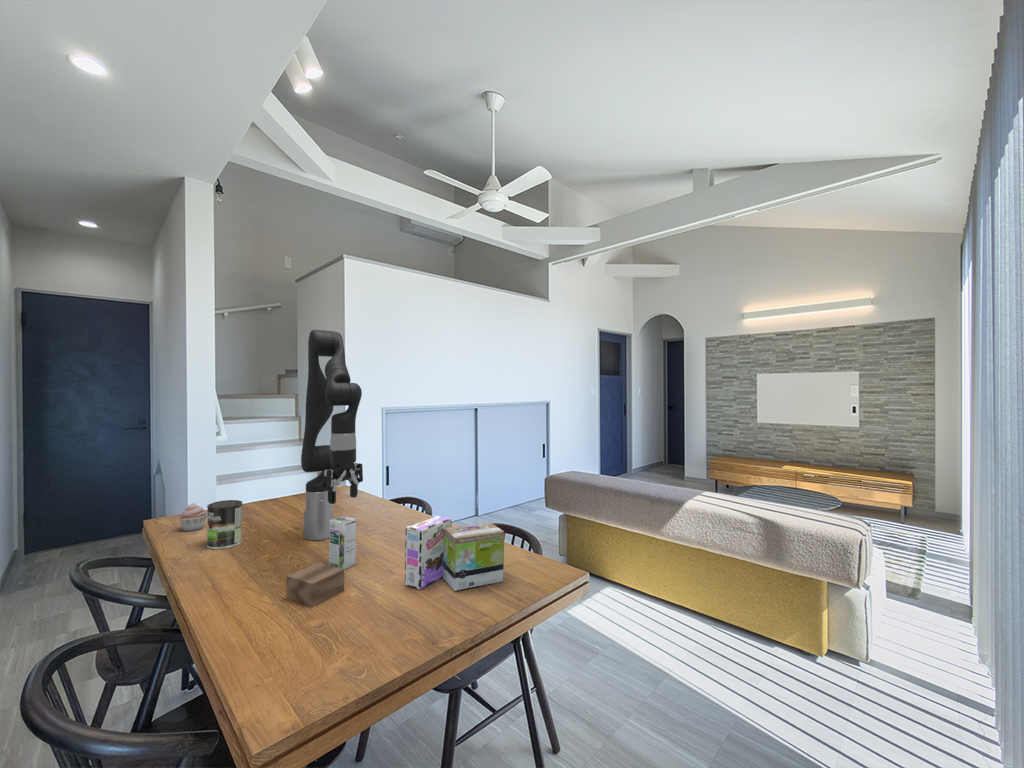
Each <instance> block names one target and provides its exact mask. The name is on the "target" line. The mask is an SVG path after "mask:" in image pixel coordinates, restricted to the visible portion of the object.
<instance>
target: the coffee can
mask: <svg viewBox="0 0 1024 768" xmlns="http://www.w3.org/2000/svg"><path fill="white" fill-rule="evenodd" d="M206 508H207V515H208V516H207V522H206V523H207V525H206V526H207V530H206V531H207V532H206V536H207V537H206V548H207V549H209V550H222V549H223V550H224V549H229V548H233V547H235V546H238V545H240V544H241V543H242V521H243V520H242V517H243V516H242V515H243V514H242V513H243V512H242V511H243V510H242V509H243V501H242V500H238V499H237V500H236V499H229V500H228V499H227V500H226V499H225V500H219V501H214V502H211V503H209V504H207V505H206Z"/></svg>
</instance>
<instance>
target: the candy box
mask: <svg viewBox="0 0 1024 768" xmlns="http://www.w3.org/2000/svg"><path fill="white" fill-rule="evenodd" d="M451 527H452V518H451V517H446V516H441V515H435V516H433V517H430V518H428V519H424V520H423V521H420V522H416V523H414V524H411V525H407V526H405V547H404V548H405V553H404V555H405V556H404V557H405V558H404V585H405V586H407V587H411V588H413V589H416V590H422V589H424V588H426V587H427V586H429V585H431V584H433V583H434V582H437V581H439V580H441V579H443V552H444V529H445V528H451Z"/></svg>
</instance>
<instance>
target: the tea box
mask: <svg viewBox="0 0 1024 768" xmlns="http://www.w3.org/2000/svg"><path fill="white" fill-rule="evenodd" d="M504 561H505V531H504V530H502V529H501V528H500V527H498V526H497V525H496V524H494V523H492V522H490V521H489V522H483V523H482V522H481V523H476V524H475V523H474V524H468V525H461V526H459V525H458V526H454V527H453V526H451V528H445V529H444V552H443V577H442V579H443V580H444V581H445V583H447V585H449V587H450V588H451V589H452V590H453V591H454V592H457V591H461V590H465V589H469V588H475V587H481V586H487V585H491V584H497V583H501V582H504V570H505V568H504V566H505V563H504Z"/></svg>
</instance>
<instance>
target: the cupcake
mask: <svg viewBox="0 0 1024 768" xmlns="http://www.w3.org/2000/svg"><path fill="white" fill-rule="evenodd" d="M206 519H208V513H207V511H206V509H204V508H203V507H202V506H200V505H197V504H196V503H195V502H193V503H190V504H189V505H187V506H186V508H185V509H184V510H183V511H181V515H180V517H178V520H179V522H180V525H181V528H182V531H183V532H195V531H199V530H202V529H203V528H204V525H205V522H206Z"/></svg>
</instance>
